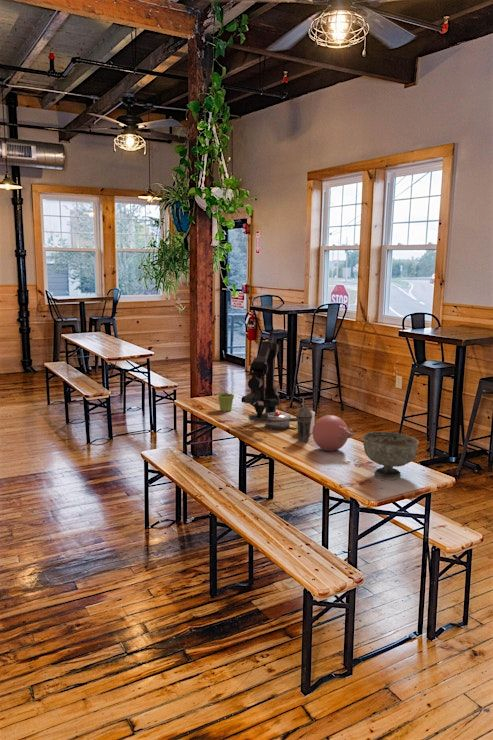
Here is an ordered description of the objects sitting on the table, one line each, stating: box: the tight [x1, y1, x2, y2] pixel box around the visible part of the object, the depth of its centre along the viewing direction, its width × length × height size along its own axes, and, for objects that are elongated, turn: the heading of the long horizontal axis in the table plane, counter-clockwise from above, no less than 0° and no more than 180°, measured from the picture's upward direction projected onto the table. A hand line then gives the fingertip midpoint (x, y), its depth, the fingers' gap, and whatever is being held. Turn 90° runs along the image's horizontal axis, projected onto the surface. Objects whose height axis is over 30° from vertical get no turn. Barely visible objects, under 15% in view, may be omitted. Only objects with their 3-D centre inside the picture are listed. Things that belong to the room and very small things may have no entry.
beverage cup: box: [295, 398, 312, 443], centre depth 264 cm, size 7×7×20 cm
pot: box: [253, 417, 297, 431], centre depth 289 cm, size 12×23×4 cm, turn 92°
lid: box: [248, 411, 292, 421], centre depth 287 cm, size 21×13×2 cm, turn 110°
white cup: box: [309, 410, 316, 435], centre depth 279 cm, size 8×8×10 cm
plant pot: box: [217, 393, 235, 413], centre depth 320 cm, size 9×9×9 cm
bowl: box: [362, 431, 420, 481], centre depth 221 cm, size 20×19×15 cm
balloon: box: [312, 414, 354, 452], centre depth 249 cm, size 15×20×15 cm
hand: (259, 418), depth 283 cm, fingers closed
